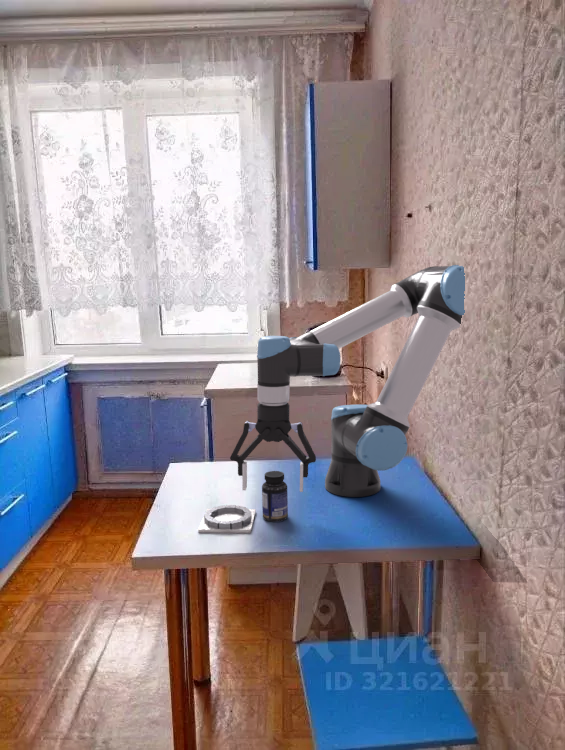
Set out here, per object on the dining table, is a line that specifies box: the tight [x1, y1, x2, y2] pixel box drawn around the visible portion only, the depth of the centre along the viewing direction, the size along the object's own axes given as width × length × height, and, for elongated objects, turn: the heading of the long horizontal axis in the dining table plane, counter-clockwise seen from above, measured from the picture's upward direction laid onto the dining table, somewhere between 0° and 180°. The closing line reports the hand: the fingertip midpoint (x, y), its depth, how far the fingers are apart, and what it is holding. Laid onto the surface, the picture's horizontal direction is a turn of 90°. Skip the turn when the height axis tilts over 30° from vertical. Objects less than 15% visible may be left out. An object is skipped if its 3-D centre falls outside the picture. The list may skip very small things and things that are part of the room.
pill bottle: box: [261, 470, 289, 522], centre depth 143 cm, size 6×6×11 cm
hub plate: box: [197, 504, 257, 534], centre depth 141 cm, size 12×12×2 cm
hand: (272, 489), depth 142 cm, fingers open, 13 cm apart
